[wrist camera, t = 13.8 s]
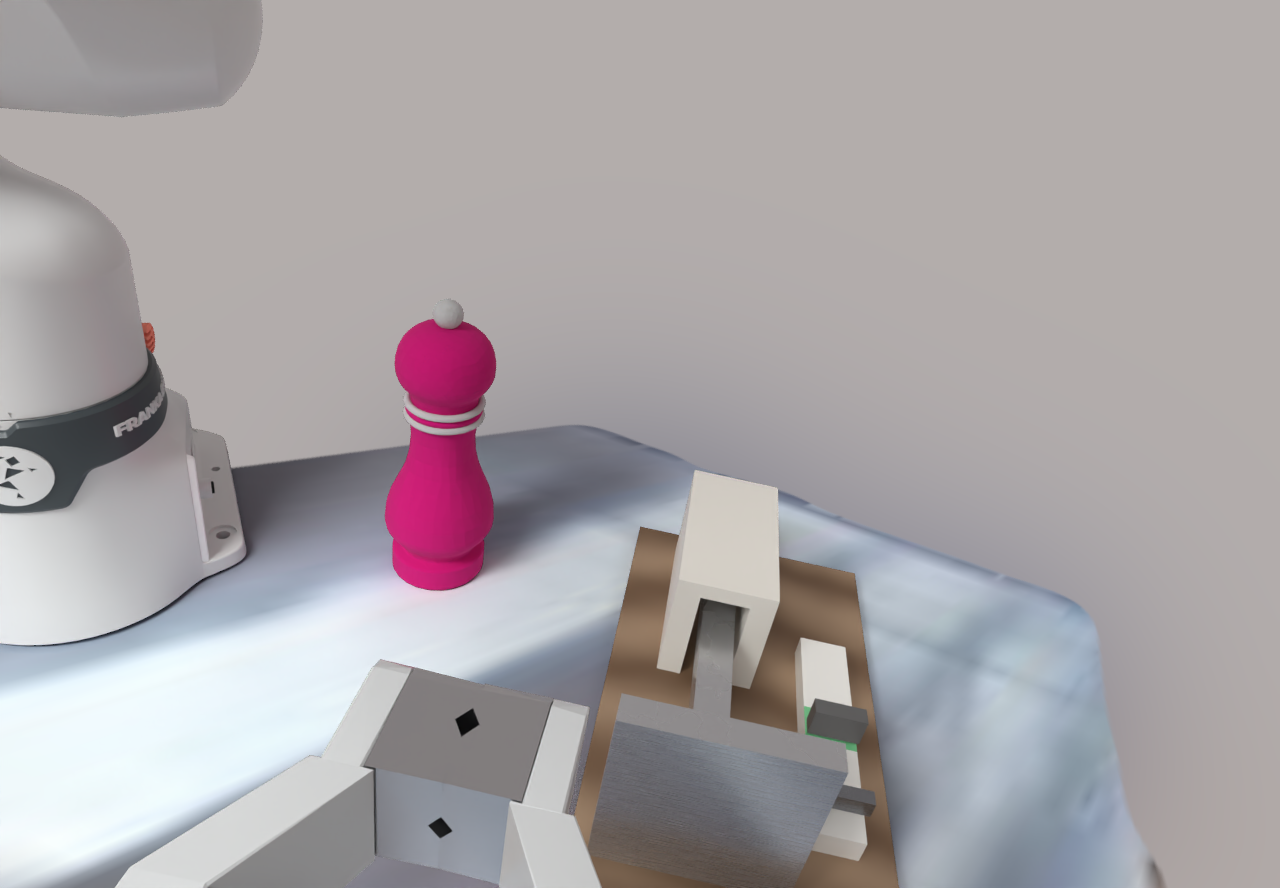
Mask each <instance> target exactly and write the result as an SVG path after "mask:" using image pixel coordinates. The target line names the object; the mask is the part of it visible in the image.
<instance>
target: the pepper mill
mask: <svg viewBox="0 0 1280 888" xmlns="http://www.w3.org/2000/svg"><path fill="white" fill-rule="evenodd" d="M463 316H464V312H463V309H462V307H461V306H460V304H459V303H457V302H456V301H454V300H451V299H445V300H441V301H440V302H438V303H437V304H436V305H435V307H434V309H433V318H434V319H431V320H427V321H424V322H421V323H419V324H417V325H415V326H414V327H412V328H411V329H410V330H409V331H408V332H407V333H406V334H405V335H404V336H403V338H402V340H401V341H400V343H399V345H398V348H397V352H396V355H395V371H396V375H397V377H398V380H399V382H400V384H401V385H402V386H403V388H404V389H405V390H406V392H405V394H404V396H403V402H404V405H405V406H404V409H403V415H404V418H405V419H406V421H407V422H408V423H409V424H410V426H411V438H410V448H409V452H408V455H407V458H406V461H405V463H404V465H403V467H402V469H401V471H400V472H399V474H398V476H397V477H396V479H395V481H394V483H393V484H392V486H391V489H390V491H389V494H388V497H387V501H386V510H385V521H386V525H387V529H388V531H389V533H390V534H391V536H392V537H393V538H394V539H393V567H394V569H395V571H396V572H397V574H398V575H399V577H401V578H402V579H403V580H404V581H405V582H407V583H409V584H411V585H413V586H415V587H418V588H423V589H427V590H446V589H452V588H456V587H458V586H461V585H463V584H466V583H467V582H469V581H470V580H472V579H473V578H474V577H475V576H476V575H477V574H478V573H479V571H480V569H481V567H482V564H483V555H484V540H483V539H484V538H485V537H486V535H487V534H488V533H489V531H490V529H491V527H492V524H493V519H494V516H493V499H492V495H491V491H490V487H489V484H488V482H487V480H486V477H485V475H484V473H483V471H482V468H481V466H480V463H479V460H478V457H477V452H476V443H475V433H476V428H477V427H478V426H479V425H480V424H481V423H482V422H483V420H484V416H485V413H484V407H485V403H486V402H485V398H484V395H483V394H484V393H485V392H486V391H487V390H488V389H489V388H490V386H491V385H492V383H493V381H494V378H495V371H496V358H495V352H494V349H493V347H492V345H491V342H490V341H489V340H488V338H487V337H486V335H485V334H483V333H482V332H481V331H480V330H479V329H477V328H476V327H475V326H472V325H471V324H469V323H466V322H463Z"/></svg>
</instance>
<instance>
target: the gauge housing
mask: <svg viewBox="0 0 1280 888" xmlns="http://www.w3.org/2000/svg"><path fill="white" fill-rule="evenodd" d="M700 598H704V599H708V600H713V601H717V602H722V603H727V604H731V605H736V612H735V632H734V651H733V671H732V685H733V686H738V687H742V688H747V689H750V687H751V684H752V681H753V678H754V675H755V672H756V669H757V666H758V663H759V661H760V658H761V655H762V652H763V649H764V646H765V643H766V640H767V637H768V635H769V632H770V629H771V626H772V623H773V620H774V617H775V614H776V611H777V609H778V606H779V603H780V583H779V525H778V488H776V487H772V486H766V485H763V484H758V483H753V482H749V481H744V480H739V479H735V478H730V477H725V476H721V475H716V474H711V473H707V472H702V471H698V470H695V472H694V476H693V480H692V484H691V488H690V492H689V497H688V501H687V505H686V509H685V513H684V517H683V521H682V525H681V530H680V534H679V538H678V542H677V546H676V550H675V556H674V562H673V569H672V575H671V581H670V587H669V594H668V600H667V606H666V612H665V619H664V625H663V631H662V637H661V644H660V650H659V656H658V662H657V668H658V669H662V670H667V671H671V672H675V673H680V671H681V667H682V663H683V660H684V656H685V653H686V649H687V645H688V642H689V638H690V634H691V631H692V627H693V623H694V620H695V616H696V613H697V609H698V605H699V602H700Z"/></svg>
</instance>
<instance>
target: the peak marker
mask: <svg viewBox="0 0 1280 888" xmlns="http://www.w3.org/2000/svg"><path fill="white" fill-rule="evenodd" d="M868 724H869V723H868V715H867V710H866V709H861V708H857V707H852V706H848V705H843V704H839V703H834V702H830V701H825V700H821V699H816V698H815V700H814V702H813V705H812V707H811V709H810V712H809V714H808V717H807V733H810V734H815V735H819V736H824V737H828V738H833V739H837V740H842V741H846V742H850V743H855V744H859V743H860V741H861V739H862V737H863V735H864V733H865V730H866V728H867V726H868Z"/></svg>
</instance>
